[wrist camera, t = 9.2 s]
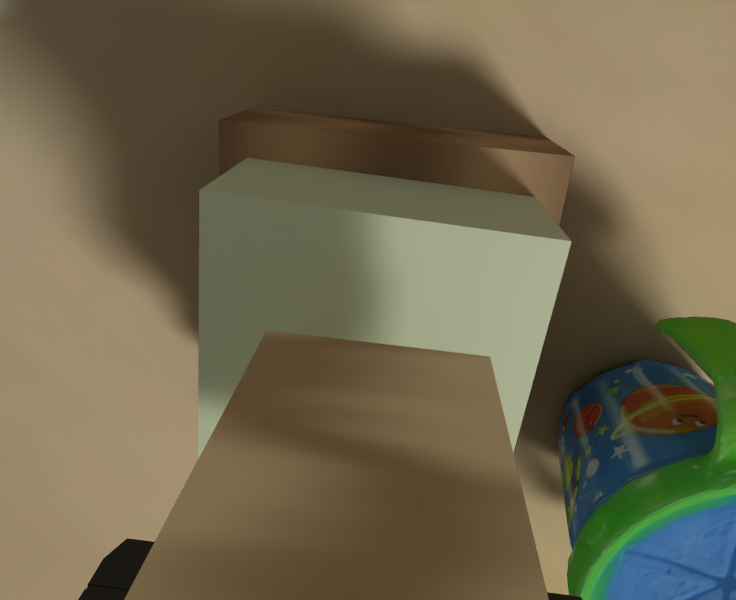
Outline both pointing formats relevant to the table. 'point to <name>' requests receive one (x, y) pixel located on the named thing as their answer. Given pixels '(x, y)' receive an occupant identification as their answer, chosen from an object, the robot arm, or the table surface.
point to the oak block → (351, 484)
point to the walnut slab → (402, 152)
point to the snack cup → (655, 474)
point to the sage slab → (371, 272)
